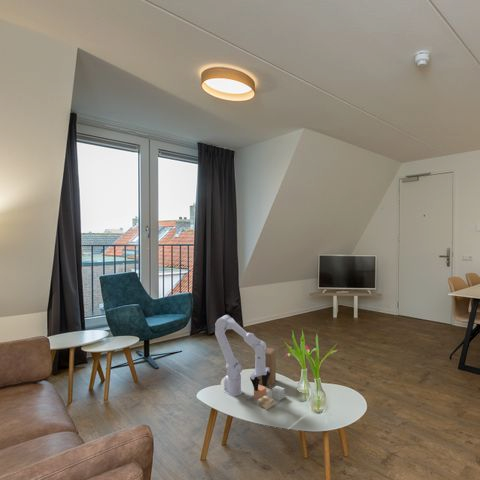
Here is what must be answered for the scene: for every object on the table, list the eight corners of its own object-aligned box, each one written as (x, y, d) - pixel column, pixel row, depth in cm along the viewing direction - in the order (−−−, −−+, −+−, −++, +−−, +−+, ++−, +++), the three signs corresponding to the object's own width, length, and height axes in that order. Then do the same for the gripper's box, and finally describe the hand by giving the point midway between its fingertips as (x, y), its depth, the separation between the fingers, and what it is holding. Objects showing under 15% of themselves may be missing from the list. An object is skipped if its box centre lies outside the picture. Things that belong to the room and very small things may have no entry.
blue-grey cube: (271, 397, 179) (271, 388, 179) (277, 394, 182) (277, 385, 182) (279, 400, 175) (279, 391, 175) (284, 397, 179) (284, 388, 179)
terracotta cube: (253, 396, 180) (253, 387, 179) (259, 393, 183) (259, 384, 183) (260, 399, 176) (260, 390, 176) (266, 396, 180) (266, 387, 180)
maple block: (257, 405, 170) (257, 399, 170) (264, 400, 175) (264, 395, 175) (266, 409, 166) (266, 403, 166) (273, 404, 171) (273, 399, 171)
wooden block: (255, 384, 196) (255, 351, 195) (260, 377, 205) (261, 346, 205) (271, 387, 192) (271, 353, 192) (276, 380, 201) (276, 348, 201)
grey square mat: (245, 400, 176) (245, 399, 176) (265, 389, 189) (265, 388, 189) (268, 411, 165) (268, 410, 165) (288, 398, 178) (288, 397, 178)
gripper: (257, 369, 171) (257, 395, 172) (273, 361, 182) (273, 385, 182) (247, 366, 176) (247, 390, 176) (264, 358, 187) (263, 381, 187)
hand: (260, 387), depth 180 cm, fingers open, 7 cm apart
